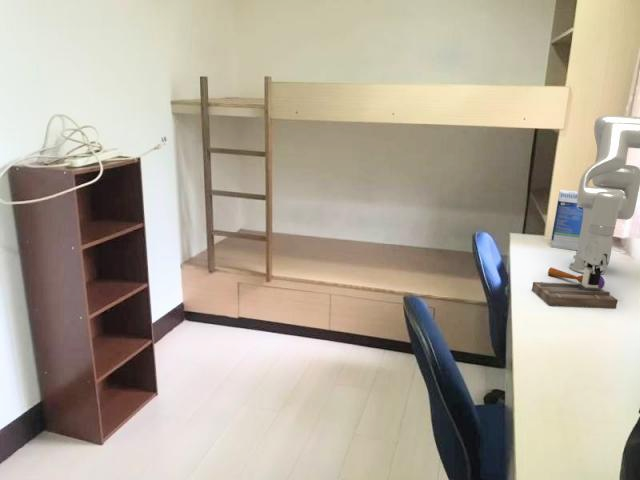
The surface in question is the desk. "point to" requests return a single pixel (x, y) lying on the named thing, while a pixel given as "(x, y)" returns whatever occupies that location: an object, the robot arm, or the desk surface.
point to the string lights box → (567, 221)
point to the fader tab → (587, 281)
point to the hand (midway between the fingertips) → (590, 282)
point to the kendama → (571, 276)
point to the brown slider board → (573, 295)
